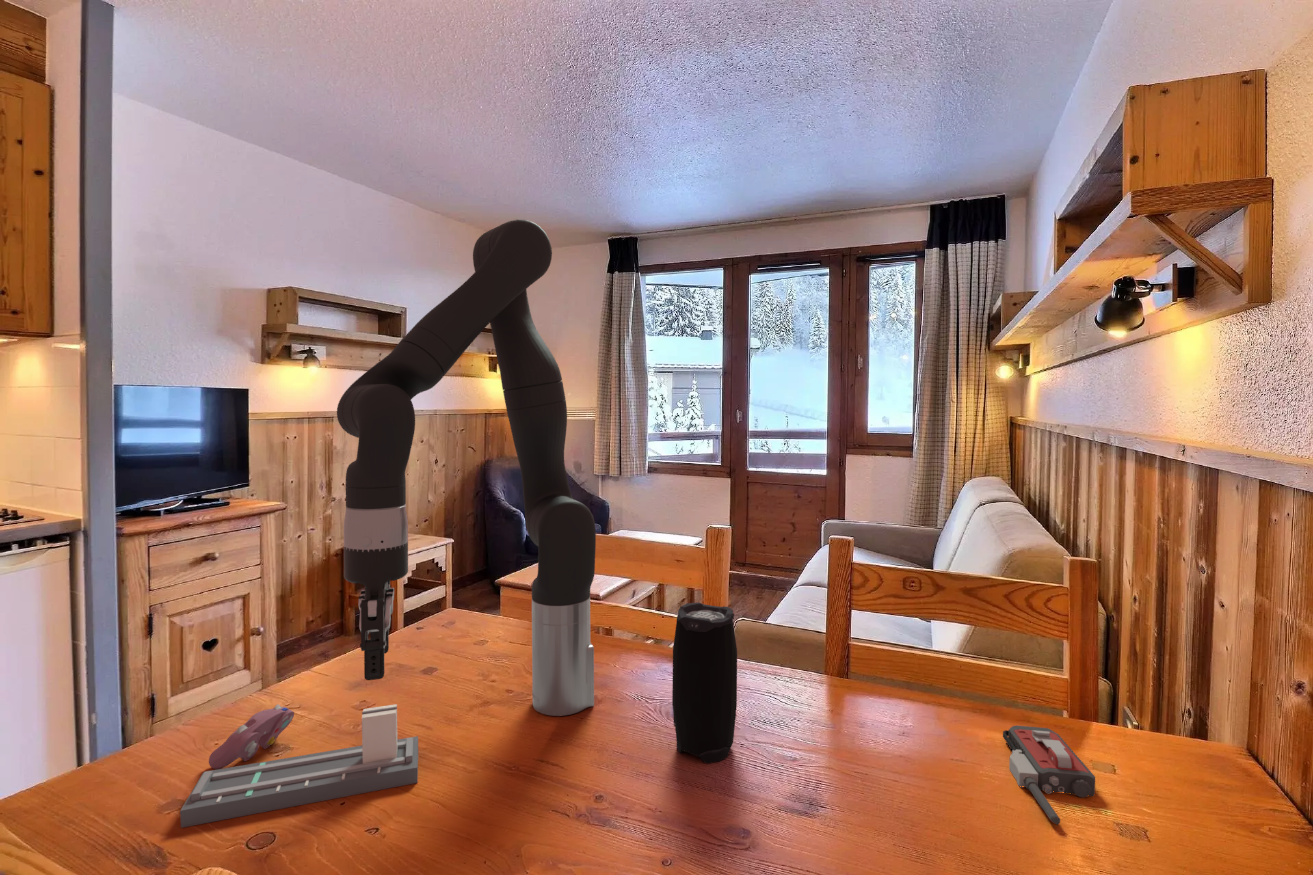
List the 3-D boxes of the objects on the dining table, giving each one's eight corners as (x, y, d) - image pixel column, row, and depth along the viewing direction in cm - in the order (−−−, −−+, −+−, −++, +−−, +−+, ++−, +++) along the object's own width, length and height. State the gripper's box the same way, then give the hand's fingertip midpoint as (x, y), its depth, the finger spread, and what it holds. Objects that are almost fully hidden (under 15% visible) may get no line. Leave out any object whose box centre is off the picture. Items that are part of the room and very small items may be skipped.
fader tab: (398, 747, 84) (397, 702, 83) (397, 757, 81) (396, 711, 81) (364, 753, 82) (363, 707, 82) (362, 764, 80) (361, 716, 80)
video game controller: (228, 785, 82) (248, 741, 81) (202, 766, 82) (220, 722, 81) (287, 745, 91) (305, 705, 90) (263, 728, 92) (280, 688, 91)
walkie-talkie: (986, 739, 91) (1045, 832, 71) (987, 709, 91) (1047, 794, 71) (1053, 745, 89) (1132, 842, 70) (1054, 715, 89) (1134, 803, 70)
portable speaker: (744, 739, 90) (746, 605, 89) (720, 773, 82) (722, 626, 81) (689, 725, 94) (690, 596, 93) (661, 756, 86) (662, 615, 85)
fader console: (418, 750, 87) (417, 730, 87) (417, 782, 80) (417, 761, 80) (204, 787, 79) (203, 765, 78) (180, 827, 71) (180, 803, 71)
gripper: (406, 550, 75) (406, 684, 76) (409, 528, 88) (410, 642, 89) (336, 554, 73) (337, 692, 73) (350, 531, 86) (351, 648, 87)
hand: (377, 665), depth 81 cm, fingers open, 8 cm apart
